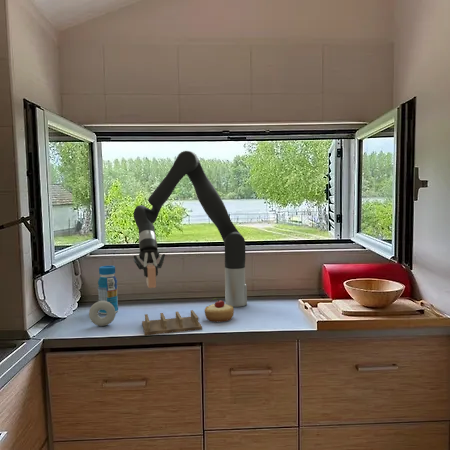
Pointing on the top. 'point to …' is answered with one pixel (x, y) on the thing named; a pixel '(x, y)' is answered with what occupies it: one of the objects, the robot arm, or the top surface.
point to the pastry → (219, 312)
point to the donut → (102, 320)
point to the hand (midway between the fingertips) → (151, 275)
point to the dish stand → (171, 324)
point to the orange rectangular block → (151, 276)
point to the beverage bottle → (108, 287)
